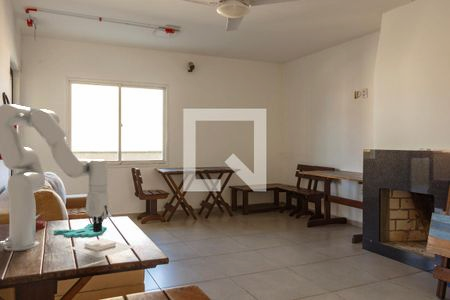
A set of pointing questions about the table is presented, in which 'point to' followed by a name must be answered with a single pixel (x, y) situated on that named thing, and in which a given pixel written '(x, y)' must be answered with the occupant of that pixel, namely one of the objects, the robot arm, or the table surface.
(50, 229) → the table surface
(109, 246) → the tile
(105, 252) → the mat
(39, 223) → the canned food
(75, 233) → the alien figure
